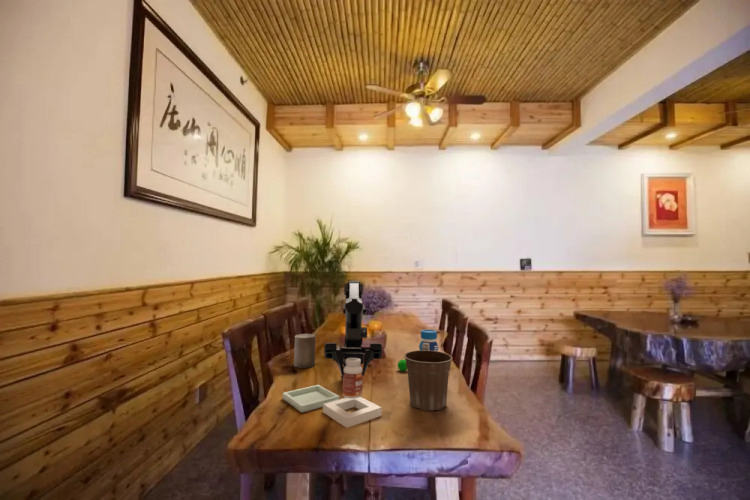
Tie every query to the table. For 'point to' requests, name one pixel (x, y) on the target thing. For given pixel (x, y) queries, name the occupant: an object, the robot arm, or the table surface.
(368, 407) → the socket block
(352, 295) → the robot arm
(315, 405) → the parts tray
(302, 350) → the pillar candle
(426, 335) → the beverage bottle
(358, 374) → the pill bottle
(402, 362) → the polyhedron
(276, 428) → the table surface
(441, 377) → the plant pot
